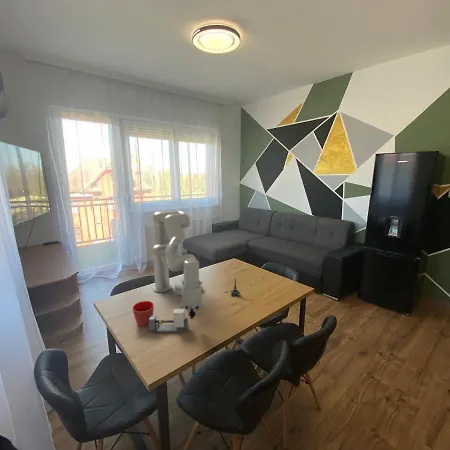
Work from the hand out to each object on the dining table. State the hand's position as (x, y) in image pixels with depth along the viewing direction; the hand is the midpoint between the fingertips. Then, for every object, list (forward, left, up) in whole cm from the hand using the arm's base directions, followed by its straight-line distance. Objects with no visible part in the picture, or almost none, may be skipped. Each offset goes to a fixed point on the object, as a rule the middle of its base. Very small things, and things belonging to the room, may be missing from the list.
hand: (192, 317), depth 125 cm
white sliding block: (0, -7, -4) cm, 8 cm away
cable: (-43, -9, -7) cm, 45 cm away
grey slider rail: (0, -12, -7) cm, 14 cm away
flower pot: (-6, -27, -7) cm, 28 cm away
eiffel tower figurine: (-37, +24, -8) cm, 44 cm away
